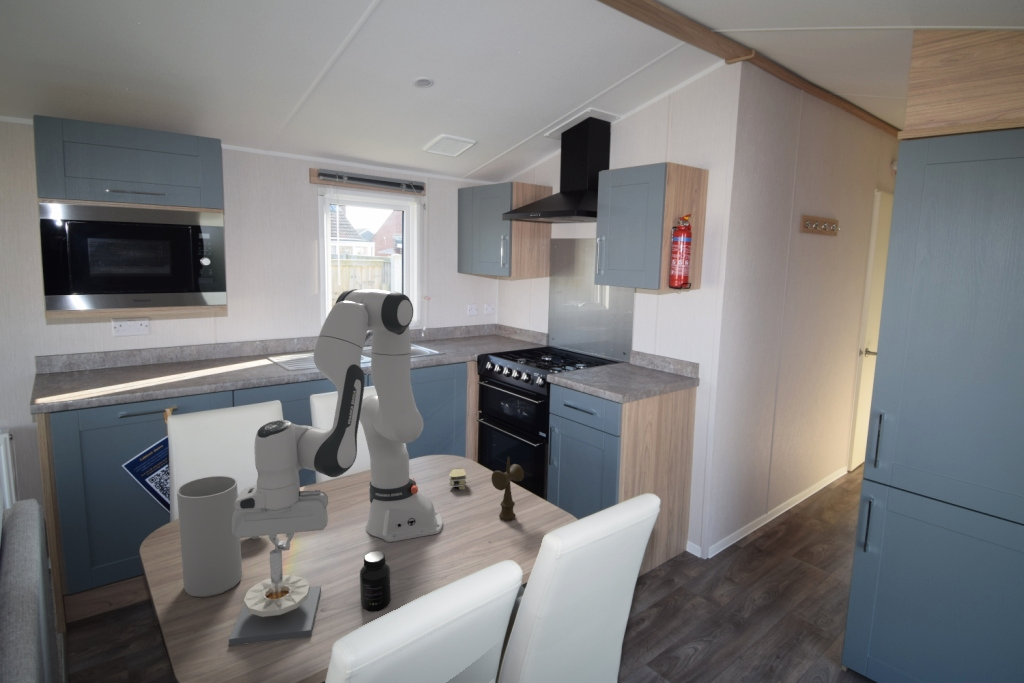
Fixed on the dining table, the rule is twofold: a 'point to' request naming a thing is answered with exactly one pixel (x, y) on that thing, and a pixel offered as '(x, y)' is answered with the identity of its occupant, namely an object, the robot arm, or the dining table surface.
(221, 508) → the cylinder vase
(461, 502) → the dining table surface
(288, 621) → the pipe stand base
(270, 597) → the silver and orange rod
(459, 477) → the beige blocky piece
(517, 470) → the kendama
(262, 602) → the silicone ring
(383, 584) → the supplement bottle
